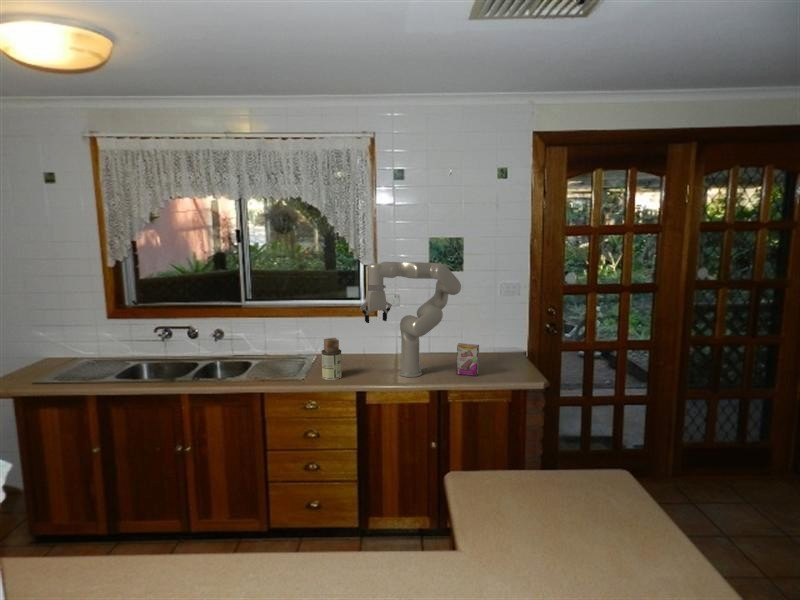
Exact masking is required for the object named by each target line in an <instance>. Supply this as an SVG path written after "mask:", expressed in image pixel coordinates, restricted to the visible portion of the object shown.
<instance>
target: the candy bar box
mask: <svg viewBox="0 0 800 600" xmlns="http://www.w3.org/2000/svg"><path fill="white" fill-rule="evenodd" d="M456 348H457V349H456V370H455V372H456V375H457V374H458V375H459V376H467V375H472V376H471V377H477V376H478V375H477V374H479V358H480V357H479V353H480V344H473V343H461V342H458V344H457V347H456ZM473 375H474V376H473Z"/></svg>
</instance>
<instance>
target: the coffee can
mask: <svg viewBox="0 0 800 600" xmlns="http://www.w3.org/2000/svg"><path fill="white" fill-rule="evenodd" d="M321 373H322V374H321V378H322V379H323V380H326V381H335V380H336V381H337V380H339V378H340V379H342V377H343V376H342V374H343V373H342V350H341V349H340V348H339V352H331V353H327V352H326V351H324V349H322V350H321Z"/></svg>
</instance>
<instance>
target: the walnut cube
mask: <svg viewBox="0 0 800 600" xmlns="http://www.w3.org/2000/svg"><path fill="white" fill-rule="evenodd" d="M339 343H340V341H339V339H337V338H336V337H331V338H323V350H324V351H326V352H327V353H331V352H339V349H340V345H339Z"/></svg>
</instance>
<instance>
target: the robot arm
mask: <svg viewBox="0 0 800 600" xmlns="http://www.w3.org/2000/svg"><path fill="white" fill-rule="evenodd" d="M367 271H368V275H367V276H368V279H367V280H368V284H367V285H368V289H367V291H366V294H365V300H364V301H365V302H364V303H363V304H362V305H360V306H359V309H360V311H361V312H362V314H363V315H364V322H365V323H367V324H370V315H369V314H370V312H379V311H382V321H384V322H387V319H388V313H389V312H390V310H391V309H392V306H393V304H392V303H390V302H388V301H387V298H386V293H385V292H386V291H385V290H384V289H386V288H387V287H386V284H385V285H384V278H387V279H388V278H389V279H394V278H396V277H400V278H405V279H406V278H407V279H417V280H418V279H420V280H421V279H422V280H423V279H427V280H428V279H429V280H430V279H433V280H436V283H435V292H434V295H432V297H430V298H429V299H428V300H426V302H424V303H423V304H422V305H420V306H419V307H418V308H417V310H416V316H414V315H412V314H411V315H410V314H407V315H404V316H403V317H402V318H401V319H400V322H399V331H400V337H401V338H400V340H401V342H400V343H401V346H400V347H401V349H400V351H401V354H400V355H401V358H400V359H401V361H400V363H401V367H400V370H398V372H397V373H398V375H399V376H401V377H404V378H417V377H419V376H421V375H422V374H423V372H422V370H427V369H428V365H423V364H420V338H421V337H423V336H425V335H427V334H428V333H430V332H431V331H432V330H433V329H434V328H436V327H437V325H439V324H440V323H441V321H442V319H443V316H444V313H443V309H444V308H445V307H446V306H447V304H448V301H449V295H450V296H455V295H458V294H459V293H460V292H461V289H462V285H461V281H460V280H459V279H458V278H457V277H456V275H455V274H454V273H453V272H452V271H451V270H450V268H449V267H448V266H447V265H445V264H443V263H438V262H423V261H422V262H421V261H415V262H414V261H412V262H411V261H409V262H408V261H405V262H403V261H382V262H380V263H379V262H378V263H377V262H376V263H370V264H369V265H368V267H367Z"/></svg>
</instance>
